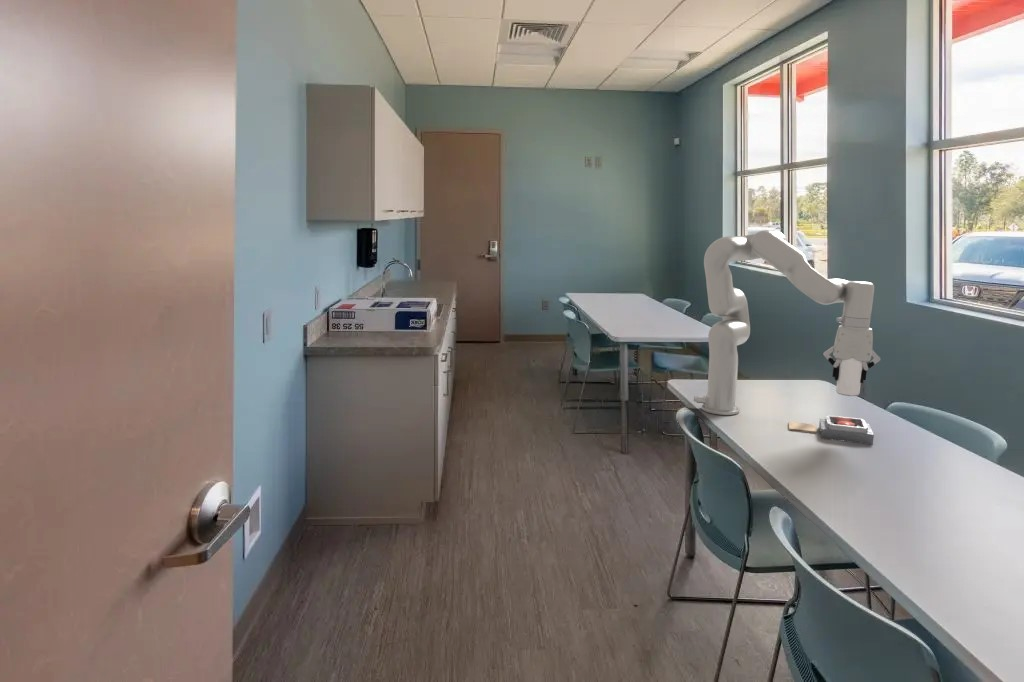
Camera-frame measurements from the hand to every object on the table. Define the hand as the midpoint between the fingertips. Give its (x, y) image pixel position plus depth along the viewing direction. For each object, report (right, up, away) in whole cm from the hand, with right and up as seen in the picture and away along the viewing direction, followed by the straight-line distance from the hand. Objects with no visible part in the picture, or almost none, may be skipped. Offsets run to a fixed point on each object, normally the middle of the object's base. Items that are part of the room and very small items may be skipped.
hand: (848, 380), depth 202 cm
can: (0, -4, +1) cm, 4 cm away
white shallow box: (0, -17, +3) cm, 17 cm away
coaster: (-10, -16, +10) cm, 21 cm away
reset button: (0, -16, +2) cm, 17 cm away
